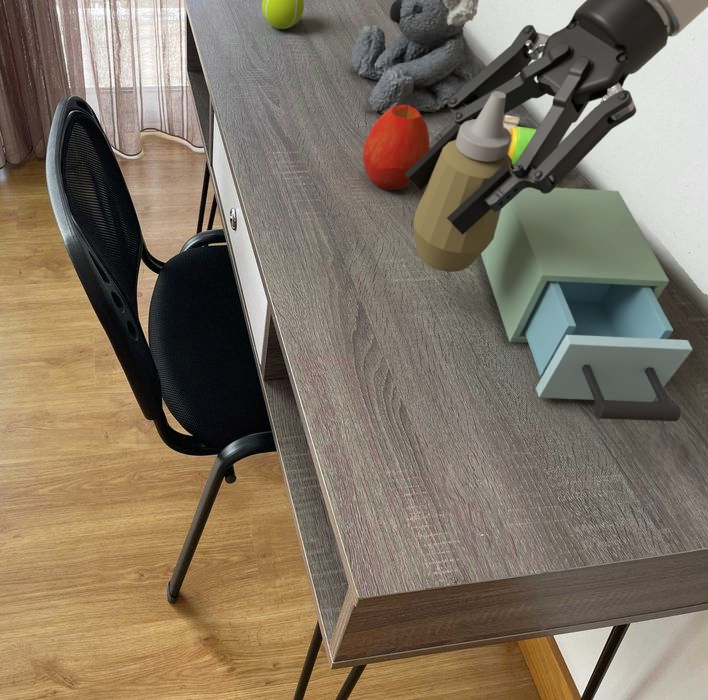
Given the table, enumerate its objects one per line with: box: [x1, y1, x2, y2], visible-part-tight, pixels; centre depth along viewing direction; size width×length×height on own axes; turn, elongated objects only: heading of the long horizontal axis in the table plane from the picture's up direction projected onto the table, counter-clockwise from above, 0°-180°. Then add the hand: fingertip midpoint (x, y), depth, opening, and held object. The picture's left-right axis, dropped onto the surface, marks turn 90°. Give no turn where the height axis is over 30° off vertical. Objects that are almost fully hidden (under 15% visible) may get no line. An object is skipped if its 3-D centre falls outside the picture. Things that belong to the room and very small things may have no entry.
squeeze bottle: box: [413, 91, 512, 273], centre depth 70 cm, size 8×8×18 cm
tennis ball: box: [261, 0, 305, 30], centre depth 122 cm, size 7×7×7 cm
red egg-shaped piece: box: [362, 105, 430, 191], centre depth 92 cm, size 8×8×11 cm
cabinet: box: [480, 187, 670, 344], centre depth 79 cm, size 15×13×10 cm
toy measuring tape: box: [502, 114, 538, 173], centre depth 99 cm, size 6×20×7 cm, turn 167°
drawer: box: [523, 281, 693, 423], centre depth 72 cm, size 19×11×8 cm, turn 0°
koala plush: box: [351, 0, 480, 115], centre depth 106 cm, size 17×18×20 cm
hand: (433, 203), depth 70 cm, fingers closed on squeeze bottle, 6 cm apart
